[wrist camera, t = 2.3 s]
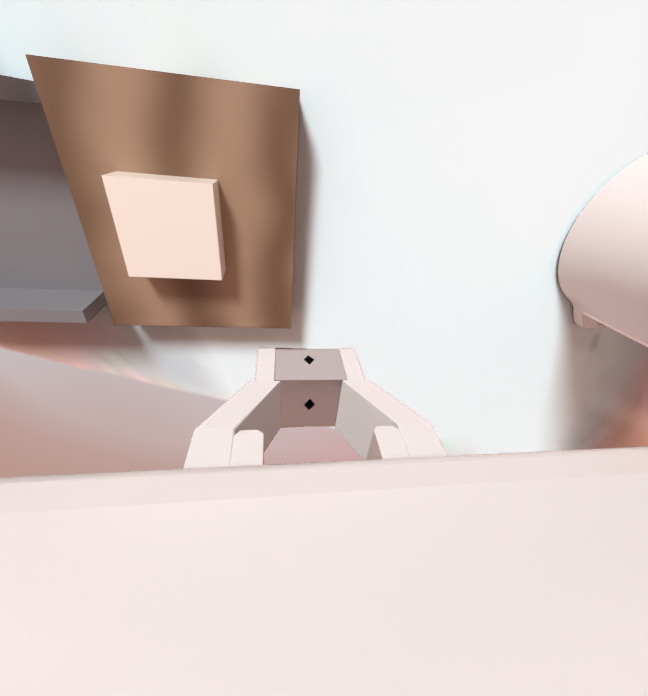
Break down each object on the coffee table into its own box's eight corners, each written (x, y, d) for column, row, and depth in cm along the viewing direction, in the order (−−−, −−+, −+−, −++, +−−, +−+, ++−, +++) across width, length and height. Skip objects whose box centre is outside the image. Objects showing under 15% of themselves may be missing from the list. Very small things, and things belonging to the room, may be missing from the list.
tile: (218, 179, 20) (212, 184, 19) (225, 269, 24) (221, 280, 22) (116, 171, 19) (101, 175, 18) (139, 265, 23) (128, 276, 21)
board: (297, 93, 20) (299, 89, 18) (290, 314, 29) (290, 328, 27) (54, 62, 18) (25, 54, 16) (127, 309, 27) (114, 324, 25)
